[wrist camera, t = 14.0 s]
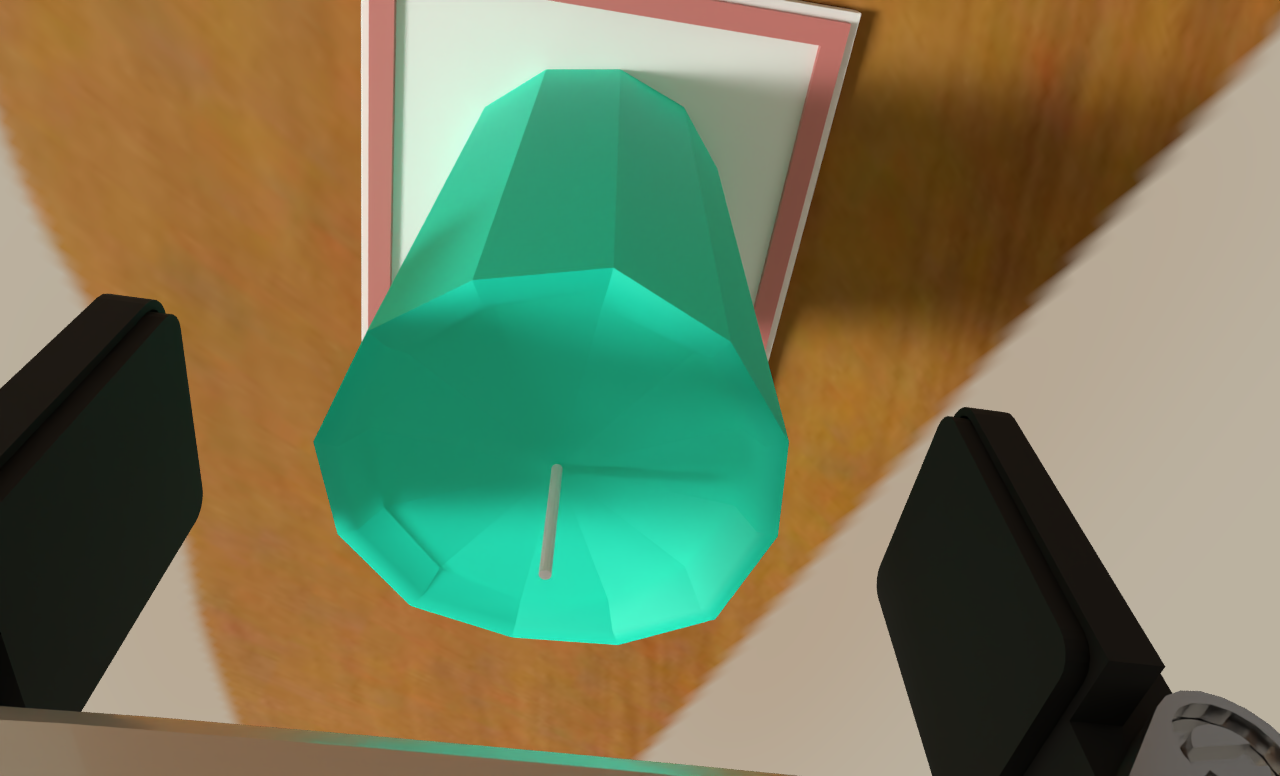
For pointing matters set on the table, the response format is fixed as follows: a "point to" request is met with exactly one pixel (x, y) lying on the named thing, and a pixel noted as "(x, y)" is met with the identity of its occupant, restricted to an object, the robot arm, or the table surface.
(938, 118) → the table surface
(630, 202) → the candle
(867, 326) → the table surface
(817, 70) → the marked card
